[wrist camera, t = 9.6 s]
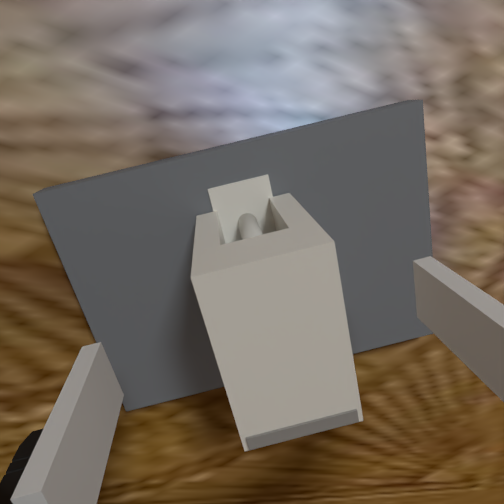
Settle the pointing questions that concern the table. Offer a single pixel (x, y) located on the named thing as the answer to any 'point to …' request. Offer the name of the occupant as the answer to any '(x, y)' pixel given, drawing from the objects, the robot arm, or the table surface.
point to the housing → (277, 326)
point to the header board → (242, 227)
